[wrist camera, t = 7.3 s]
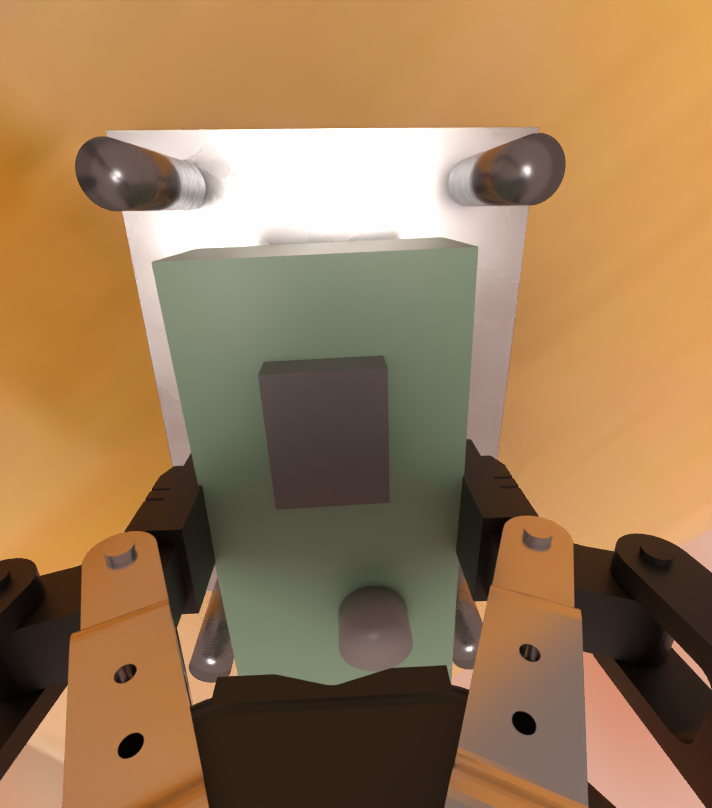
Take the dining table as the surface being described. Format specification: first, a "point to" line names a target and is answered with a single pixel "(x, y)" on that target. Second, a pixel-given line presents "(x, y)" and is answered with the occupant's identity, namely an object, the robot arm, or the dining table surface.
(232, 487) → the board
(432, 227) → the chassis
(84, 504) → the dining table surface
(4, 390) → the dining table surface
